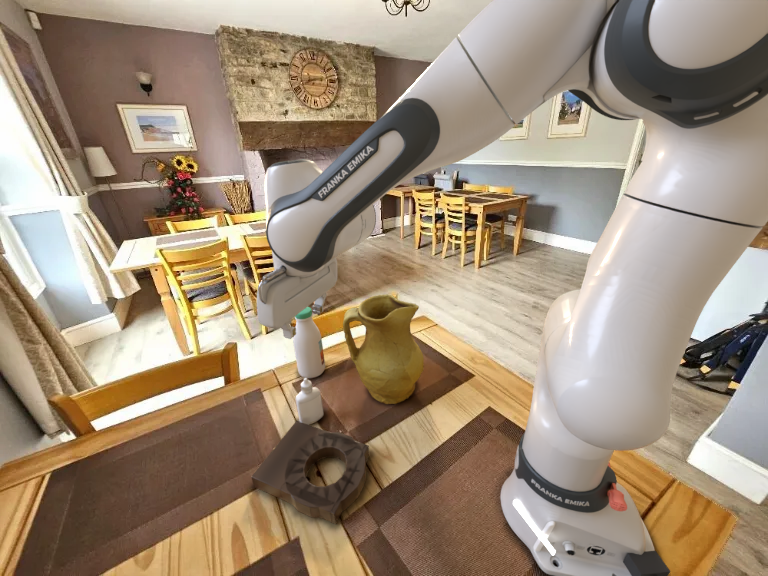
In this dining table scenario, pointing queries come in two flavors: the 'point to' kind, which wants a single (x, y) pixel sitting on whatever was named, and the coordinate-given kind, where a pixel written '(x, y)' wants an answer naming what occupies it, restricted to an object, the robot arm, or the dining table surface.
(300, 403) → the eye dropper bottle
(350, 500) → the grey ring plate
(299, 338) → the milk bottle
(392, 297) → the pitcher
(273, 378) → the dining table surface
